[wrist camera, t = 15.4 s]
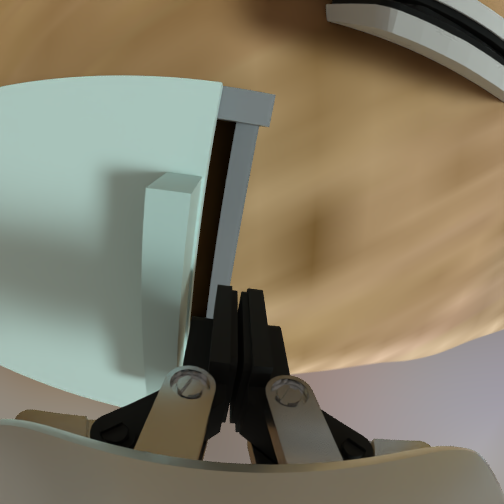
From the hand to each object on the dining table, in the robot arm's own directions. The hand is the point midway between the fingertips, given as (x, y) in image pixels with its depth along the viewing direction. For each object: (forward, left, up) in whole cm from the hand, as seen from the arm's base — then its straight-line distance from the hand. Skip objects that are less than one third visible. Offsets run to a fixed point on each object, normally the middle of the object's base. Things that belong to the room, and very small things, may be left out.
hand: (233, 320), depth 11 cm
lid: (0, -10, -1) cm, 10 cm away
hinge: (-16, +11, -9) cm, 22 cm away
